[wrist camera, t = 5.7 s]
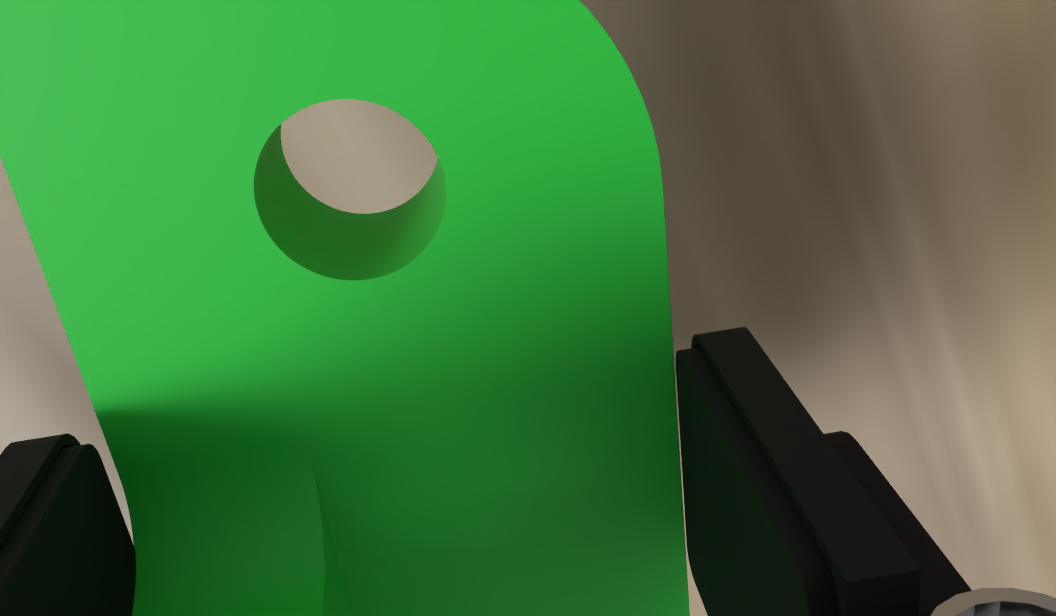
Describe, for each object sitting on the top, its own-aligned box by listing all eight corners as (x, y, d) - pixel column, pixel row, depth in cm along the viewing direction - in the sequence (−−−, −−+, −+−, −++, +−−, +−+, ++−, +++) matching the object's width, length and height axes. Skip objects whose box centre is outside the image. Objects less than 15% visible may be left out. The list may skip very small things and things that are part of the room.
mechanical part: (666, 690, 15) (900, 1450, 8) (287, 756, 15) (165, 1610, 8) (600, -147, 10) (1104, -180, 3) (15, -68, 10) (-1191, 132, 2)
